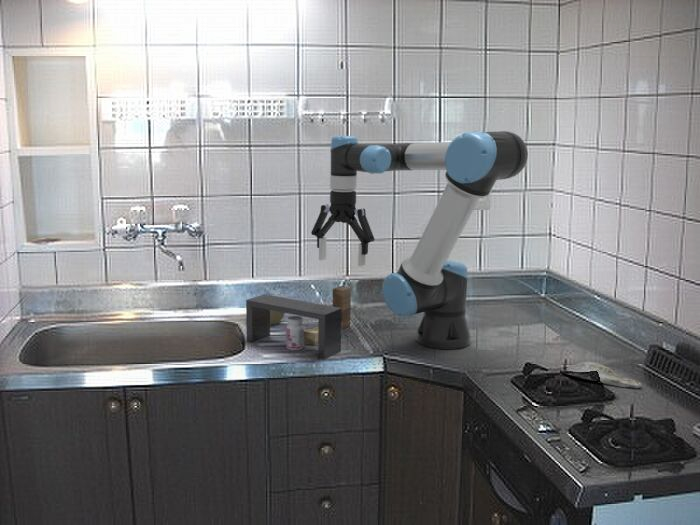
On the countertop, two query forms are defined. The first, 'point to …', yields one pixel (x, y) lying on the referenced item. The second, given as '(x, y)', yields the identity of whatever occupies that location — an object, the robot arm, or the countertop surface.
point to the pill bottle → (295, 333)
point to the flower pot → (276, 316)
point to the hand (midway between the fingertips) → (341, 262)
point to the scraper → (339, 300)
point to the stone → (605, 374)
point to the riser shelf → (327, 315)
